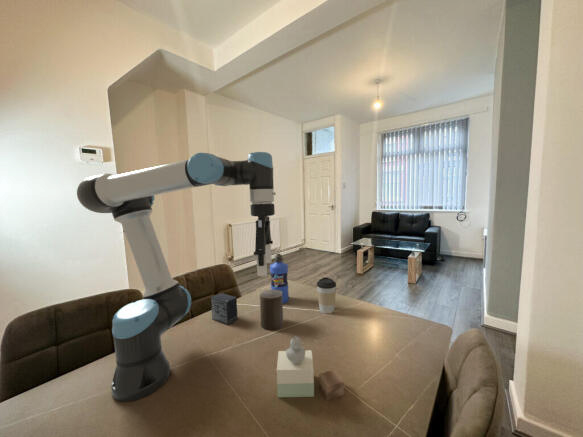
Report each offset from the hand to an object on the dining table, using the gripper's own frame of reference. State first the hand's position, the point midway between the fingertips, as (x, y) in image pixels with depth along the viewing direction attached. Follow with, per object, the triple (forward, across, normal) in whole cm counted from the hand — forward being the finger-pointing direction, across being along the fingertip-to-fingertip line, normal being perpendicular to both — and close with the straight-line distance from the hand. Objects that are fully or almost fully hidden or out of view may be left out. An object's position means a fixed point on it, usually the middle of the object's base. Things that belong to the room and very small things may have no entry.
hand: (265, 268), depth 78 cm
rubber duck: (+24, -11, -9) cm, 28 cm away
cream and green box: (+32, -11, -9) cm, 35 cm away
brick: (+32, -13, -19) cm, 39 cm away
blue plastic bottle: (+32, +46, -1) cm, 56 cm away
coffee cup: (+32, +34, -24) cm, 52 cm away
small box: (+32, +28, +23) cm, 48 cm away
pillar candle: (+32, +23, +1) cm, 39 cm away
